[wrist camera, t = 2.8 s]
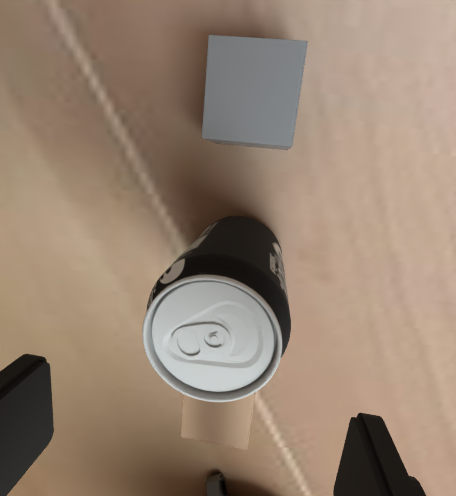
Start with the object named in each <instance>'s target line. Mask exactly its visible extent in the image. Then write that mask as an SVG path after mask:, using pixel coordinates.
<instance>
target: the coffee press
mask: <svg viewBox="0 0 456 496" xmlns="http://www.w3.org/2000/svg"><path fill="white" fill-rule="evenodd" d="M206 488H207V496H228V493H227V487H226V482H225V478H224V475H223V474H222V473H220V474H215V475H211V476H208V477H207V480H206Z"/></svg>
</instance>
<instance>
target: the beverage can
mask: <svg viewBox="0 0 456 496" xmlns="http://www.w3.org/2000/svg"><path fill="white" fill-rule="evenodd" d="M290 331H291V319H290V311H289V304H288V296H287V288H286V281H285V273H284V266H283V258H282V251H281V247H280V245H279V242H278V240H277V239H276V237H275V235H274V234H273V233H272V232H271V231H270V230H269V229H268V228H267V227H266V226H265V225H263V224H262V223H260V222H258V221H256V220H254V219H251V218H247V217H241V216H234V217H227V218H223V219H221V220H218V221H216V222H215V223H213V224H212V225H210V226H209V227H208V228H207V229H206V230H205V231H204V232H203V233H202V234H201V235H200V236H199V237H198V238H197V239H196V240H195V241H194V242H193V243H192V244H191V245H190V246H189V248H188V249H187V250H186V251H185V252H184V253H183V254H182V255H181V256H180V257H179V258H178V259H177V260H176V261H175V262H174V263H173V264H172V265H171V266H170V267H169V268H168V269H167V270H166V271H165V272H164V274H163V275H162V276H161V277H160V278H159V279H158V281H157V282H156V284H155V285H154V287H153V289H152V291H151V294H150V297H149V300H148V305H147V313H146V316H145V319H144V323H143V343H144V348H145V351H146V354H147V357H148V359H149V361H150V363H151V365H152V366H153V368H154V369H155V371H156V372H157V373H158V374H159V376H160V377H161V378H162V379H163V380H164V381H165V382H166V383H168V384H169V385H170V386H172V387H173V388H174V389H176V390H178V391H179V392H181V393H183V394H185V395H187V396H190V397H192V398H195V399H199V400H204V401H210V402H228V401H234V400H238V399H242V398H244V397H247V396H249V395H251V394H253V393H255V392H256V391H258V390H259V389H260V388H262V387H263V386H264V385H265V384H266V383H267V382H268V381H269V380H270V379H271V377H272V376H273V374H274V373H275V371H276V369H277V367H278V365H279V361H280V358H281V357H282V355H283V354H284V352H285V349H286V347H287V344H288V342H289V338H290Z"/></svg>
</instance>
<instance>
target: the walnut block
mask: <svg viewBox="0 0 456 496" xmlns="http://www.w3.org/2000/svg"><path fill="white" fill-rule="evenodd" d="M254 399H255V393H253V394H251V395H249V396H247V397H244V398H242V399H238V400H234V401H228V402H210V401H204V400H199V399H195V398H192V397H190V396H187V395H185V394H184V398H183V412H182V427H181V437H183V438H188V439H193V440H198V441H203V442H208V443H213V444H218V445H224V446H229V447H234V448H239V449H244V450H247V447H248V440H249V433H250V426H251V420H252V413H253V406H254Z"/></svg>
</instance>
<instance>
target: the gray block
mask: <svg viewBox="0 0 456 496" xmlns="http://www.w3.org/2000/svg"><path fill="white" fill-rule="evenodd" d="M307 43H308V41H300V40H284V39H268V38H251V37H235V36H219V35H209V40H208V55H207V69H206V84H205V99H204V113H203V128H202V138H203V139H206V140H209V141H211V142H214V143H219V144H229V145H239V146H250V147H260V148H271V149H281V150H288V149H290V148H291V147H292V145H293V138H294V131H295V124H296V118H297V111H298V104H299V97H300V90H301V84H302V77H303V70H304V63H305V57H306V50H307Z"/></svg>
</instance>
